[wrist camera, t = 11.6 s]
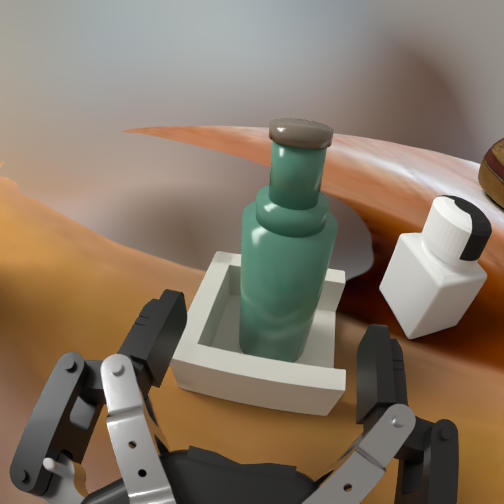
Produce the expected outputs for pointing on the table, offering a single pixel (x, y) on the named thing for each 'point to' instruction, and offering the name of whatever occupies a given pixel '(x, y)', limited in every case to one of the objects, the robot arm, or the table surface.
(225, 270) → the cream U-rest
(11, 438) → the table surface
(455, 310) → the medicine bottle
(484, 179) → the ceramic pitcher
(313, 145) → the green bottle
